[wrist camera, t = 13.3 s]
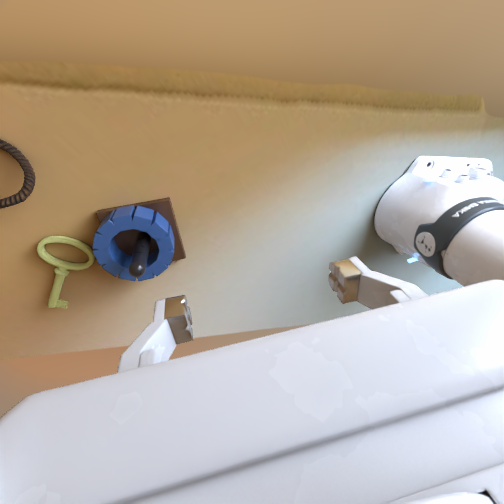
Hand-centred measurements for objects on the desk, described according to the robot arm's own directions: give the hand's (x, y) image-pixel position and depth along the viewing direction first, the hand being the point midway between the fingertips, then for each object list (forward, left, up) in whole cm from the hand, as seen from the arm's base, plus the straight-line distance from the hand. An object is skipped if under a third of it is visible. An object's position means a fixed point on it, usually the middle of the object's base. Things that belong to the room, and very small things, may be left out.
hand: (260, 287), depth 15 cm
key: (+25, +12, -29) cm, 40 cm away
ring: (+13, +9, -28) cm, 32 cm away
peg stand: (+12, +9, -29) cm, 33 cm away
